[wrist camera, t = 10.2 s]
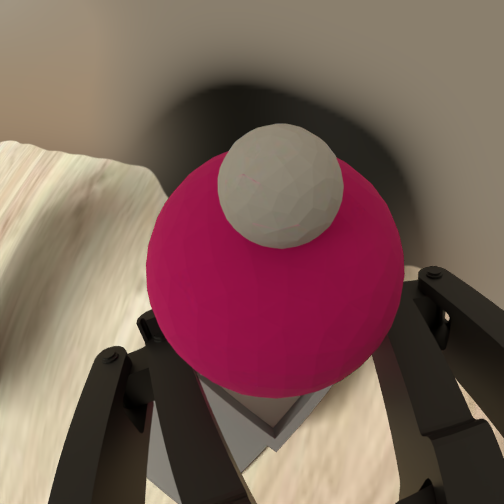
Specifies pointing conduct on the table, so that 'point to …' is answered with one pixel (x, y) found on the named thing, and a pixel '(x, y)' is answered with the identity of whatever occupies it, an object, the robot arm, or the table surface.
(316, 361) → the pepper mill
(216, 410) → the box
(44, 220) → the table surface
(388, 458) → the table surface
